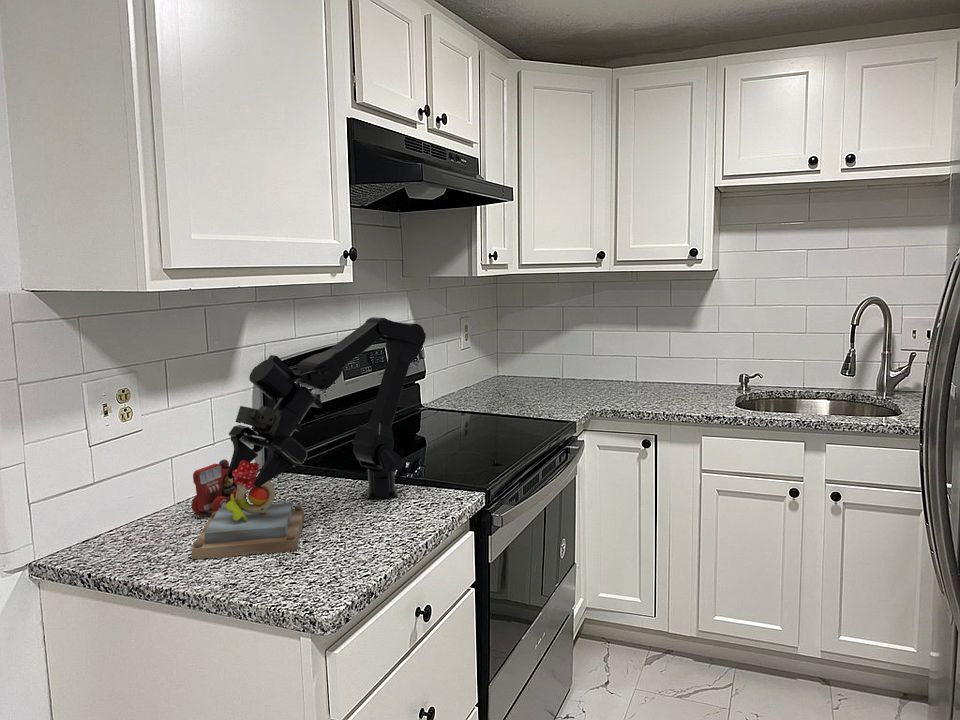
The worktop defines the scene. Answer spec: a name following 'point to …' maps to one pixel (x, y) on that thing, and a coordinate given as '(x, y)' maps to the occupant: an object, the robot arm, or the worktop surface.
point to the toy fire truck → (213, 488)
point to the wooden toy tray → (250, 532)
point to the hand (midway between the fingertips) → (241, 481)
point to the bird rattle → (256, 496)
